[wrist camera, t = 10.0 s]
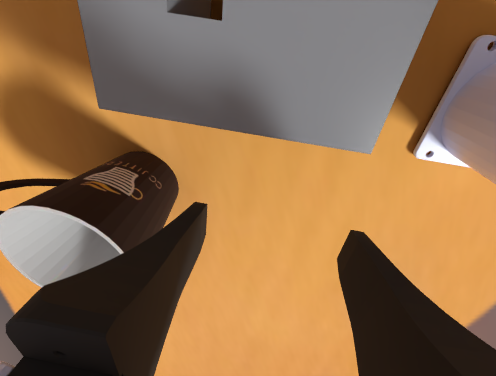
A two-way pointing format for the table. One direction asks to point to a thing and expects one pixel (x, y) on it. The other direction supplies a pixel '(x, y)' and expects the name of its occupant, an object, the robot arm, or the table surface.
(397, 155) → the table surface
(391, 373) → the robot arm
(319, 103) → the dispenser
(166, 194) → the coffee mug
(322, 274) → the table surface
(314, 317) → the table surface
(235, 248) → the table surface
